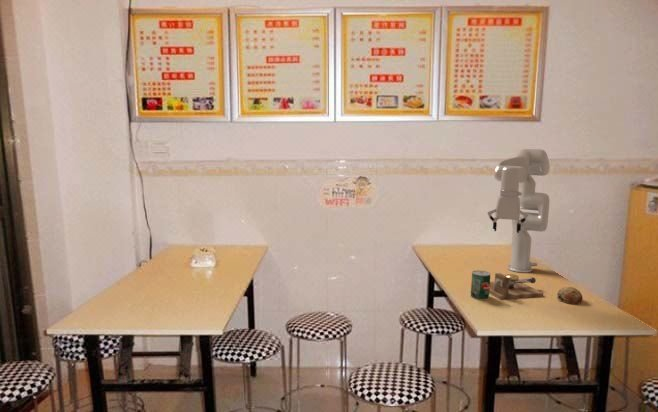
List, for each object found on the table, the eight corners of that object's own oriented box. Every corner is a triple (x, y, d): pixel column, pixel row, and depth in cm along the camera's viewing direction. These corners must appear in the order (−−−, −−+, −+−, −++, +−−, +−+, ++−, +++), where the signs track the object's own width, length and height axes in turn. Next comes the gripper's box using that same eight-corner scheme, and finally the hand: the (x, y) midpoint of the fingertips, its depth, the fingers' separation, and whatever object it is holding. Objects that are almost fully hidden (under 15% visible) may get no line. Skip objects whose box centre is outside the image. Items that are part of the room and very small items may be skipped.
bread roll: (554, 305, 212) (549, 290, 209) (569, 293, 215) (565, 279, 212) (573, 313, 203) (569, 298, 200) (589, 300, 206) (585, 285, 203)
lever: (508, 289, 216) (509, 278, 215) (500, 285, 222) (501, 274, 221) (538, 287, 220) (539, 276, 219) (530, 283, 226) (531, 272, 225)
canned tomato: (488, 300, 206) (490, 276, 204) (469, 298, 208) (471, 274, 207) (489, 295, 213) (490, 271, 211) (471, 292, 216) (472, 269, 214)
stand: (515, 282, 232) (517, 264, 231) (543, 296, 213) (545, 275, 211) (475, 285, 227) (477, 266, 225) (500, 299, 207) (501, 278, 206)
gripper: (528, 194, 214) (525, 231, 216) (488, 192, 219) (486, 228, 221) (530, 196, 207) (527, 234, 209) (489, 194, 212) (486, 231, 214)
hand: (506, 231), depth 215 cm, fingers open, 9 cm apart
